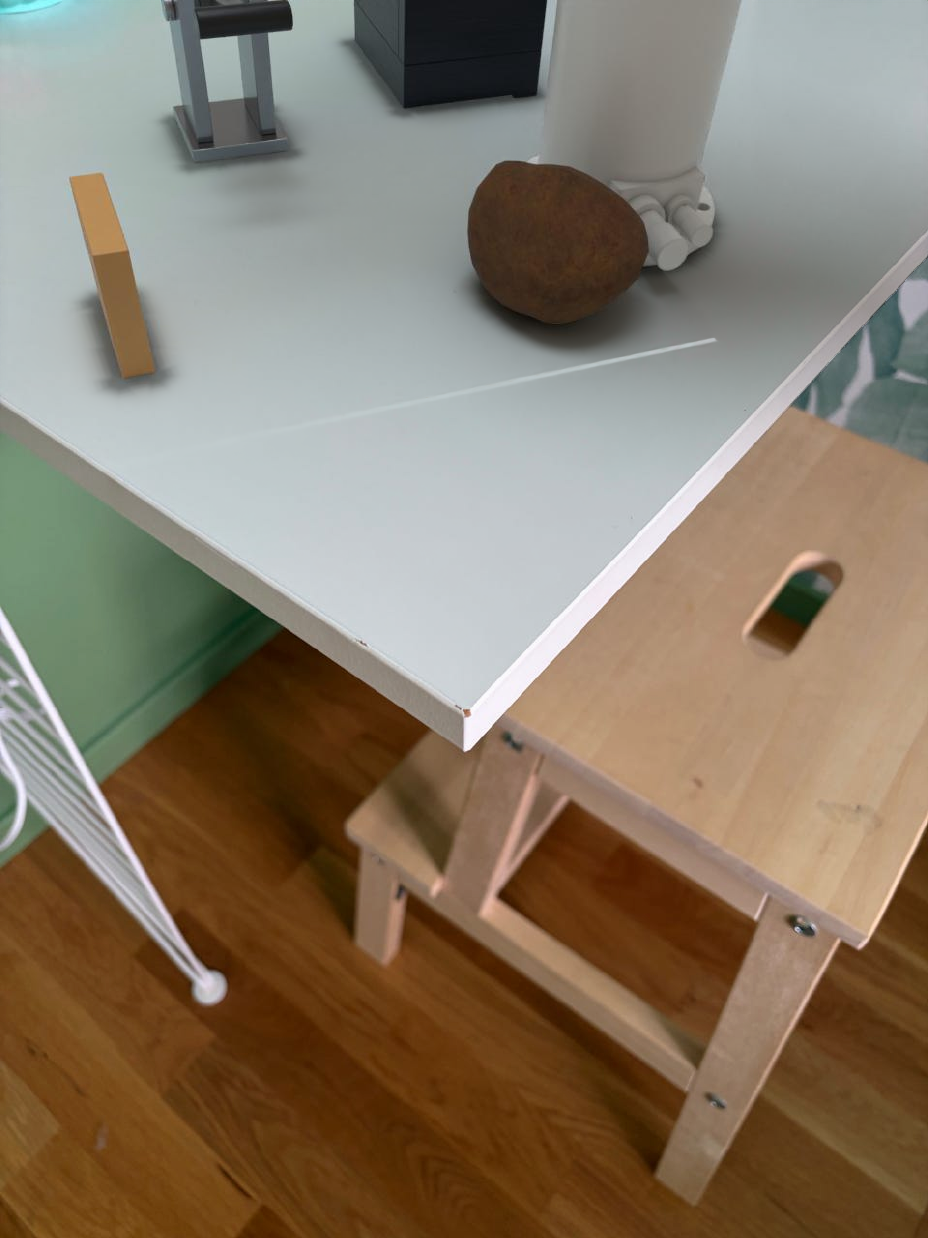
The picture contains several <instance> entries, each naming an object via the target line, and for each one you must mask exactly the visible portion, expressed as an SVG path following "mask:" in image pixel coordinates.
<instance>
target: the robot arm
mask: <svg viewBox="0 0 928 1238" xmlns="http://www.w3.org/2000/svg"><path fill="white" fill-rule="evenodd" d="M741 3H742V0H556V7H555V16H554V24H553V33H552V41H551V49H550V58H549V65H548V74H547V83H546V92H545V98H544V99H545V101H544V109H543V115H542V126H541V133H540V140H539V141H540V142H539V149H538V154H537V155H535V156H531V158H529V159H527V160H526V161H525V162H528V163H532V164H555V165H563V166H570V167H573V168H575V169H577V170H579V171H581V172H584V173H586V174H588V175H589V176H591V177H593V178H595V179H596V180H598V181H600V182H601V183H603V184H604V185H606V186H607V187H609V188H610V189H611V190H613V191H614V192H615V193H617V194H618V195H620V196H621V197H622V198H624V199H625V200H626V201H627V202H628V203H629V204H630V206H631V207H632V208H633V209H634V210H635V211H636V212H637V213H638V215H639V216H640V218H641V219H642V221H643V222H644V225H645V229H646V232H647V236H648V245H649V252H648V255H647V257H646V260H645V262H644V265H643V267H653V266H657V267H658V268H659V269H661V270H662V271H673V270H675V269H676V268H678V267H680V266H681V265H683V263H684V262H685V261H686V259H687V257H688V255H690V254H692V253H693V252H695V251H696V250H698V249H699V248H702V247H704V246H706V245H708V244H709V242H710V241H711V240H712V238H713V236H714V228H713V223H714V219H715V216H716V206H715V200H714V199H713V196H712V194H711V192H710V190H709V189H708V188H707V187H706V186H705V184H704V182H705V179H706V174H705V173H703V172H702V171H701V165H702V162H703V157H704V154H705V149H706V145H707V141H708V138H709V133H710V129H711V125H712V121H713V117H714V113H715V109H716V105H717V101H718V97H719V93H720V89H721V86H722V85H721V84H722V81H723V77H724V73H725V69H726V66H727V65H726V64H727V61H728V56H729V52H730V48H731V44H732V40H733V36H734V32H735V28H736V25H737V20H738V16H739V11H740V8H741V5H742V4H741ZM643 267H642V268H643Z"/></svg>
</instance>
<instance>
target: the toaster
mask: <svg viewBox="0 0 928 1238" xmlns="http://www.w3.org/2000/svg"><path fill="white" fill-rule="evenodd" d="M547 7H548V0H353V23H354V24H353V25H354V41H355V43H356V44H357V45H358V47H359V48H360V50H361V51H362V52H363V54H364V56H365V57H366V58H367V60H368V61H369V63H370V64H371V65H372V67H373V68H374V69H375V71H376V72H377V73H378V75H379V76H380V77H381V79H382V81H383V82H384V83H385V84H386V86H387V87H388V89H389V91H390V92H391V93H392V95H393V96H394V97H395V98H396V100H397V101H398V103H399V104H400V105H401V107H402V108H403V109H411V108H420V107H426V106H427V107H429V106H434V105H443V104H449V103H450V104H451V103H461V102H467V101H476V100H484V99H490V98H492V99H493V98H498V97H499V98H500V97H508V96H512V98H522V97H531V96H537V95H538V88H539V78H540V71H541V60H542V54H543V53H542V52H543V41H544V34H545V26H546V17H547Z"/></svg>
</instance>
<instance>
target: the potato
mask: <svg viewBox="0 0 928 1238" xmlns="http://www.w3.org/2000/svg"><path fill="white" fill-rule="evenodd" d="M467 212H468V213H467V228H466V229H467V230H466V233H467V245H468V251H469V256H470V257H469V258H470V262H471V265H472V267H473V269H474V271H475V273H476V275H477V277H478V279H479V280H480V281H481V283H482V285H483V287H484V288H485V289H486V291H487V292H488V293H489V294H490V296H491V297H493V298H494V299H495V300H496V301H497V302H498V303H499V304H500V305H501V306H503V307H505V308H507V309H509V310H510V311H511V310H512V311H514V312H515V313H518V314H521V315H525V316H528V317H530V318H533V319H536V320H538V321H540V322H542V323H545V324H548V325H549V324H552V325H553V324H554V325H555V324H556V325H564V324H567V323H572V322H576V321H579V320H582V319H584V318H586V317H589V316H591V315H594V314H595V313H597V312H599V311H600V310H602V309H604V308H606V307H608V306H609V305H610V304H611V303H612V302H613V301H615V300H616V299H617V298H619V297H620V296H621V295H622V294H624V293H625V292H626V291H627V290H629V289H630V288H631V286H633V285H634V284H635V283H636V282H637V281H638V280H639V277H640V276H641V275H640V274H641V273H642V270H643V265H644V262H645V260H646V257H647V255H648V252H649V245H648V236H647V232H646V229H645V225H644V222H643V221H642V219H641V218H640V216H639V215H638V213H637V212H636V211H635V210H634V209H633V208H632V207H631V206H630V204H629V203H628V202H627V201H626V200H625V199H624V198H622V197H621V196H620V195H618V194H617V193H615V192H614V191H613V190H611V189H610V188H609V187H607V186H606V185H604V184H603V183H601V182H600V181H598V180H596V179H595V178H593V177H591V176H589V175H588V174H586V173H584V172H581V171H579V170H577V169H575V168H573V167H570V166H563V165H555V164H532V163H528V162H526V161H523V160H502V161H501V162H498V163H496V164H495V165H494V166H493V168H492V169H491V170H490V171H489V172H488V174H487V175H486V176H485V177H484V178H483V180H482V181H481V182H480V183H479V184H478V186H477V187H476V188H475V191H474V194H473V197H472V199H471V202H470V205H469V208H468V211H467Z"/></svg>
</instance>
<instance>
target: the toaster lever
mask: <svg viewBox="0 0 928 1238" xmlns="http://www.w3.org/2000/svg"><path fill="white" fill-rule="evenodd" d="M195 4H196V8H194V9H193V17H194V24H195V29H196V32H197V35H198V37H199V39H200V40H209V39H211V40H212V39H220V38H230V37H237V36H241V35H251V34H261V33H268V34H269V33H280V32H290V31H292V30H293V28H294V19H293V18H294V17H293V11H292V7H291V4H290V2H289V0H268V1H264V2H253V3H241V2H239V1H238V0H195Z"/></svg>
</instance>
